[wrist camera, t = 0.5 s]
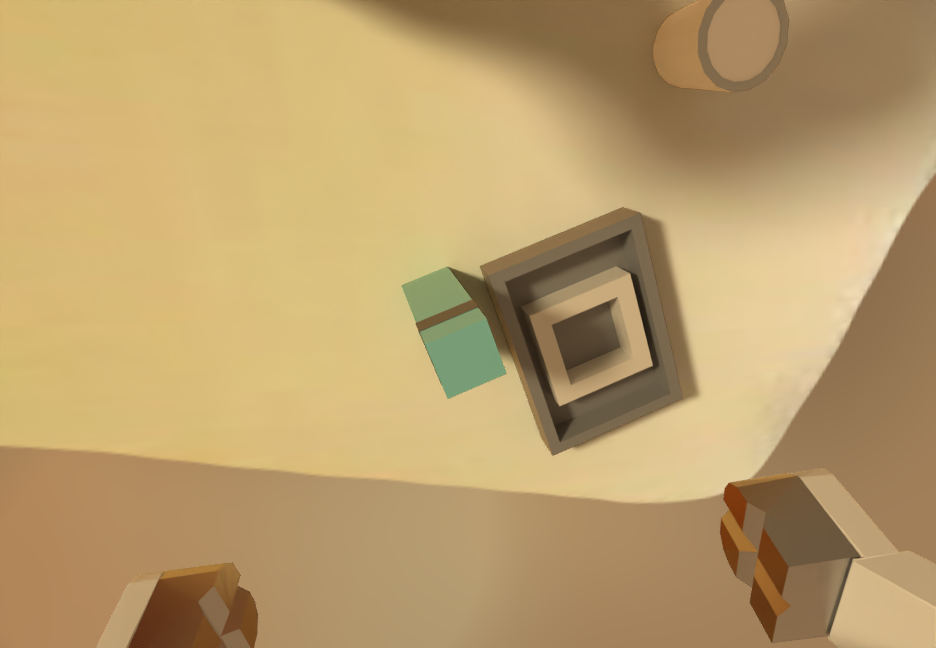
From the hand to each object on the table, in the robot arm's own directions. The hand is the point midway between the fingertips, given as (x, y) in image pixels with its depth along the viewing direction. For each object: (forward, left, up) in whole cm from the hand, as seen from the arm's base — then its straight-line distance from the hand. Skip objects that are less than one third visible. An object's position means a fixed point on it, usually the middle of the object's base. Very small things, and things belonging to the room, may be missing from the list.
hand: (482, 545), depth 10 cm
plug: (+9, +2, -37) cm, 38 cm away
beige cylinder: (-2, +28, -37) cm, 46 cm away
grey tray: (+17, +13, -37) cm, 43 cm away
